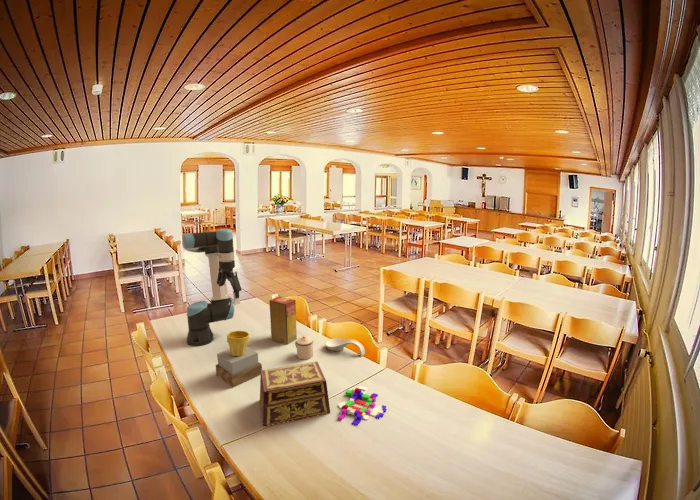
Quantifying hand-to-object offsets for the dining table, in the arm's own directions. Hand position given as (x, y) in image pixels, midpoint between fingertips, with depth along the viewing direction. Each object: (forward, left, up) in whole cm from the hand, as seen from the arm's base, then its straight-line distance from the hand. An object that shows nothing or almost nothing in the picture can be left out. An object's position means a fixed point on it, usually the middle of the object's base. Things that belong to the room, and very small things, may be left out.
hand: (229, 300), depth 188 cm
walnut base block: (+12, -4, -35) cm, 37 cm away
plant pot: (+12, -5, -23) cm, 26 cm away
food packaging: (-4, +35, -35) cm, 50 cm away
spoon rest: (+33, +49, -35) cm, 69 cm away
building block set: (+74, +18, -36) cm, 84 cm away
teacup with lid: (+20, +30, -35) cm, 50 cm away
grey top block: (+12, -4, -29) cm, 32 cm away
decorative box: (+52, -2, -35) cm, 63 cm away
